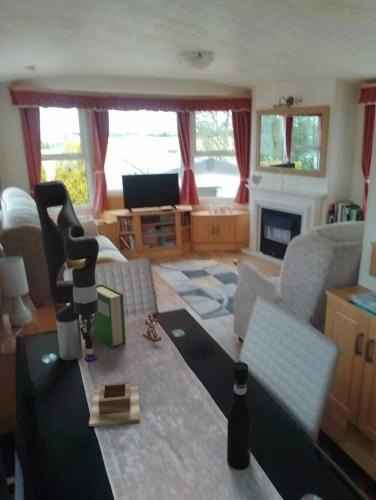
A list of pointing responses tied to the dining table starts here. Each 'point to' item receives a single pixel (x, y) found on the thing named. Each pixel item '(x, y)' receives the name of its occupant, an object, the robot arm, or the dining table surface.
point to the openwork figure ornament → (148, 333)
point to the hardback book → (109, 317)
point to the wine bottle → (239, 421)
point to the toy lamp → (90, 356)
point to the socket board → (115, 404)
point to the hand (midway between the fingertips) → (89, 346)
